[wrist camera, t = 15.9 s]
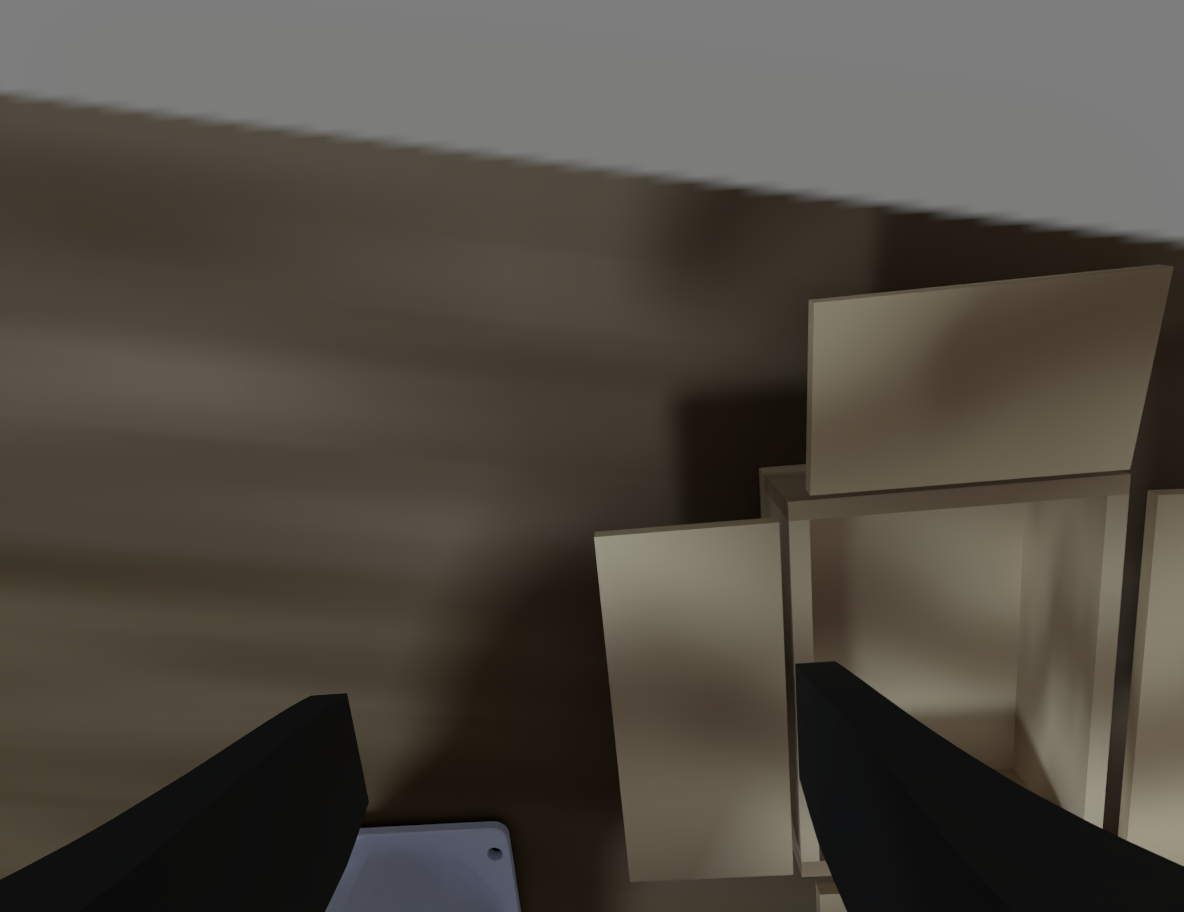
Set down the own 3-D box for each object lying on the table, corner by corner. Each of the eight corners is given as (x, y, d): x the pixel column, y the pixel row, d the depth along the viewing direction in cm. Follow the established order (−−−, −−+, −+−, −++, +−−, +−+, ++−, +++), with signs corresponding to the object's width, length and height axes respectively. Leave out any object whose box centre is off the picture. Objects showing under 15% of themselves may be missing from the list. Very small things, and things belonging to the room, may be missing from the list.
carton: (1016, 896, 22) (1095, 1013, 19) (641, 912, 23) (645, 1028, 19) (1038, 443, 19) (1140, 477, 15) (597, 481, 20) (592, 521, 16)
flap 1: (1173, 266, 13) (1158, 264, 14) (814, 302, 14) (808, 299, 14) (1130, 469, 15) (1117, 462, 15) (810, 495, 15) (805, 488, 16)
